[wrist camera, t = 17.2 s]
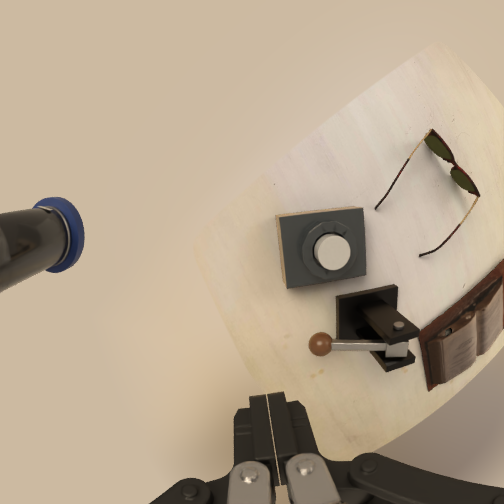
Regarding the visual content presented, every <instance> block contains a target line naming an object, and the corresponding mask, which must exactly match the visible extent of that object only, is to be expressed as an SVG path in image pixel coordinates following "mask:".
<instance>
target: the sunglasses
mask: <svg viewBox="0 0 504 504" xmlns="http://www.w3.org/2000/svg"><path fill="white" fill-rule="evenodd" d="M423 140H424V141H425V143H426V144H427V146H428V147H429V148H430V149H431V150H432V151H433V152H434V153H435V154H436V155H437V156H439V157H441V158H442V159H443V160H445V161H447V162H448V163H452V164H453V165H454V167H452V168H451V171H450V174H451V176H452V178H453V179H454V181H455V182H456V183H457V184H458V185H459V186H460V187H461V188H463V189H465V190H467V191H468V192H469V193H471V194H474V195H476V196H477V198H476V199H475V201H474V203H473V205H472V207H471V209H470V210H469V212H468V213H467V215H466V216H465V217H464V219H463V220H462V221H461V223H460V224H459V225H458V226H457V227H456V229H455V230H454V231H453V232H452V233H451V234H450V236H449V237H448V238H447V239H446V240H445V241H444V242H443V243H442V244H441V245H440V246H439V247H437V248H436V249H434V250H432V251H429V252H426V253H423V254H419V257H420V256H424V255H427V254H430V253H433V252H435V251H437V250H438V249H439V248H440V247H442V246H443V245H444V244H445V243H446V242H447V241H448V240H449V239H450V237H451V236H452V235H453V234H454V233H455V232H456V230H457V229H458V228H459V227H460V225H461V224H462V223H463V221H464V220H465V219H466V217H467V216H468V214H469V213H470V211H471V210H472V208H473V207H474V205H475V204H476V202H477V200H478V198H479V197H480V193H479V191H478V189H477V187H476V186H475V184H474V182H473V181H472V180H471V178H470V177H469V176H468V174H467V173H466V172H465V171H464V170H463V169H461V168H460V167H459V166H458V165H457V163H456V162H455V159H454V156H453V154H452V152H451V150H450V148H449V147H448V145H447V144H446V143H445V142H444V140H443V139H442V138H441V137H440V136H439V135H438V134H437V133H436V132H435V130H434V129H430V130H429V132H428V133H426V135H425V136H424V138H423V139H422V140H421V142H422V141H423ZM421 142H420V143H419V144H418V146H419V145H420V144H421ZM418 146H417V147H416V148H415V150H416V149H417V148H418ZM415 150H414V151H413V152H412V154H413V153H414V152H415ZM412 154H411V155H410V156H409V158H408V159H407V161H406V162H405V164H404V165H403V167H402V169H401V170H400V172H399V173H398V175H397V177H396V178H395V180H394V182H393V183H392V185H391V187H390V188H389V190H388V192H387V193H386V194H385V196H384V197H383V198H382V200H381V201H380V202H379V203H378V204H377V206H376V207H375V210H376V209H377V207H378V206H379V205H380V204H381V203H382V201H383V200H384V199H385V198H386V196H387V195H388V194H389V192H390V190H391V189H392V187H393V185H394V184H395V182H396V180H397V179H398V177H399V175H400V174H401V172H402V171H403V169H404V167H405V166H406V164H407V163H408V161H409V160H410V158H411V156H412Z"/></svg>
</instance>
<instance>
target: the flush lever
mask: <svg viewBox="0 0 504 504" xmlns="http://www.w3.org/2000/svg"><path fill="white" fill-rule="evenodd" d="M408 345H409V340H407V341H404V342H400V343H397V344H394V345H391V346H389V345H388V344H387V343H386V342H385V340H338V339H332V338H331V337H330V336H329V335H328V334H327V333H324V332H319V333H316V334H314V335H313V336H312V337H311V338H310V340H309V349H310V351H311V352H312V353H313V354H314V355H316V356H325V355H327V354H328V353H329V352H330V351H331V350H348V351H385V353H386V357H407V351H408Z"/></svg>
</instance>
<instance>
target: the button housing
mask: <svg viewBox="0 0 504 504" xmlns="http://www.w3.org/2000/svg"><path fill="white" fill-rule="evenodd" d="M276 224H277V233H278V241H279V250H280V259H281V269H282V278H283V282H284V284H285V286H286V288H287V289H288V288H294V287H301V286H307V285H313V284H319V283H325V282H331V281H337V280H342V279H348V278H354V277H359V276H364V275H366V246H365V227H364V212H363V208H362V207H355V206H350V207H341V208H331V209H322V210H313V211H305V212H296V213H288V214H280V215H276ZM326 234H335V235H338V236H340V237H342V238H344V239H345V240H346V241H347V242H348V244H349V246H350V257H349V260H348V262H347V263H346V264H345V265H344V266H343V267H342V268H340V269H337V270H329V269H326V268H324V267H323V266H322V265H321V264H320V263H319V262H318V261H317V260H316V258H315V255H314V248H315V245H316V242H317V241H318V240H319V239H320V238H321V237H322V236H324V235H326Z"/></svg>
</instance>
